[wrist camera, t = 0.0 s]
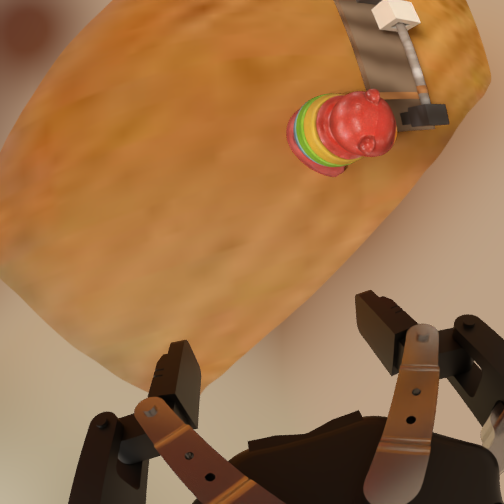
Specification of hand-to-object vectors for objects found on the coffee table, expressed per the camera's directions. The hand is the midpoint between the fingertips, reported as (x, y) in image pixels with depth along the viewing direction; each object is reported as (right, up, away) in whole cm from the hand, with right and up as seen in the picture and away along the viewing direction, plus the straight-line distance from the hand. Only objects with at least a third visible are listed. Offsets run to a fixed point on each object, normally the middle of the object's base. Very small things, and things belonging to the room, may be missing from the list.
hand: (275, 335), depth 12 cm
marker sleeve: (+20, +40, +16) cm, 47 cm away
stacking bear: (+9, +21, +25) cm, 34 cm away
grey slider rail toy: (+21, +36, +22) cm, 47 cm away
